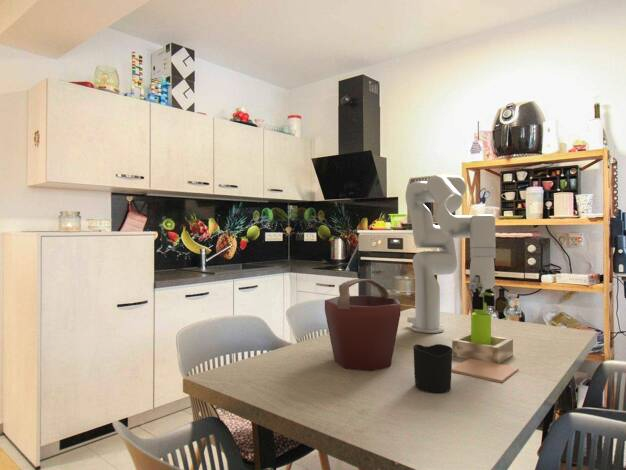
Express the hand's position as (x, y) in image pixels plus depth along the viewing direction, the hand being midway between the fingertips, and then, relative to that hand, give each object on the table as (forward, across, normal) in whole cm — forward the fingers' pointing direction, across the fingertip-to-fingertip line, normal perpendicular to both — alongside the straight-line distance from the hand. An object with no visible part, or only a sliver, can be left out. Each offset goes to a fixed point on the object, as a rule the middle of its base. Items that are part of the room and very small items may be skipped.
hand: (483, 307), depth 136 cm
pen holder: (+16, +36, 0) cm, 40 cm away
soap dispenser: (+16, 0, -1) cm, 16 cm away
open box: (+15, 0, -1) cm, 15 cm away
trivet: (+16, +14, +5) cm, 22 cm away
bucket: (+16, +30, -26) cm, 43 cm away
